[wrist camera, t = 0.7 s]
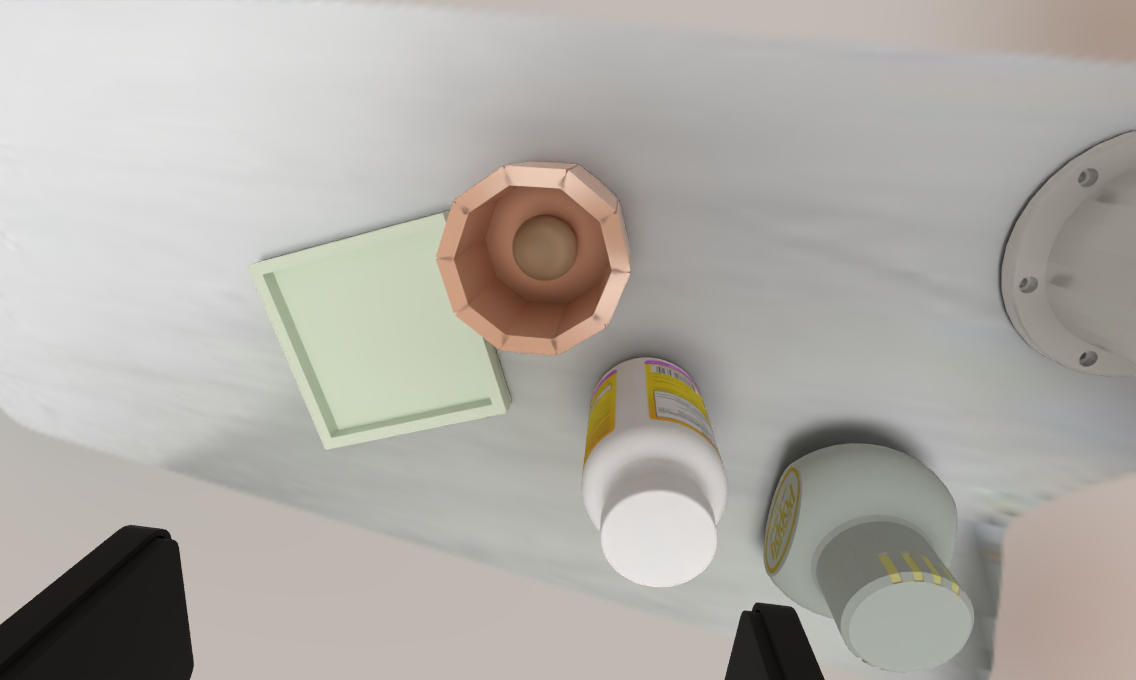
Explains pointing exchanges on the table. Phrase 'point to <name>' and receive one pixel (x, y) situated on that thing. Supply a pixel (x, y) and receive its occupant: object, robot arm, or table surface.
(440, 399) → the tray
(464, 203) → the pot
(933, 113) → the table surface
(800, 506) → the air freshener
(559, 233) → the cork ball
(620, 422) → the supplement bottle
